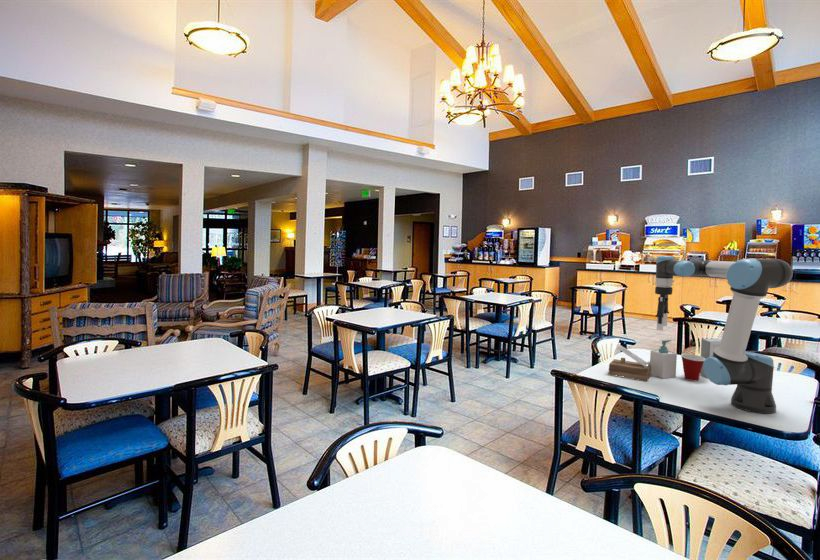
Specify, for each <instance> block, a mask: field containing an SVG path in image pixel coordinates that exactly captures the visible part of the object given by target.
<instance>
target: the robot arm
mask: <svg viewBox="0 0 820 560" xmlns="http://www.w3.org/2000/svg"><path fill="white" fill-rule="evenodd" d="M655 263H656V264H655V265H656V266H655V288H654V294H655V295H659V297H658V298H657V300H658V302H657V309H656V315H655V318H656V330H657V331H662V332H663V331H664V327H668V314H670V311H669V296H670V295H673V287H672V286H673V285H674V284H673V283H675V280H673V278H674V277H681V278H684V277H685V278H688V277H709V278H710V277H712V278H723V279H724V278H725V279H726V280H727V284H728V286H730V288H729V290H730V291H731V293H733V295H732V298H731V302H730V307H729V310H728V313H727V317H726V319H725V324H724V325H725V326H724V328H723V332H722V335H721V338H720V339H721V343H720V347H718V348H716V349H714V352H713V356H712V357H708V358H706V359H705V360H704V363H703V369H704V373H705V374H706V376H707V378H708V379H707V378H706V379H707V380H709V381H710V382H711V383H713V384H714V385H717V386H730V385H732V386H733V385H736V387H735V390H734V392H733V393H732V396H731V398H730V404H731V405H732V406H734V407H735V408H738V409H741V410H744V411H747V412H752V413H758V414H773V413H776V411H777V405H776V401H775V398H774V394H773V379H774V370H775V366H774V359H773V358H772V357H771V356H769V355H767V354H766V355H765V354H761V353H756V352H753V351H746V349H747V347H748V343H749V339H750V337H751V333H752V332H751V331H752V328H753V325H754V322H755V319H756V315H757V311H758V308H759V305H760V301H761V299H763V298H765V297H767V295H768V292H769V289H777V288H781V287H782V288H783V287H784V286H786V285H788V284H789V283H790V281H791V280H792V279H793V274H794V272H793V267H792V266H791V265H790V264H789V263H788V262H787V261H784V260H783V259H780V258H752V257H751V258H743V259H742V258H741V259H739V260H735V261H726V260H725V261H724V260H710V259H706V260H701V259H700V260H675V258H674V256H672V255H659V256H657V257H656V262H655Z"/></svg>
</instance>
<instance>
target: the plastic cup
mask: <svg viewBox="0 0 820 560" xmlns="http://www.w3.org/2000/svg"><path fill="white" fill-rule="evenodd" d="M680 356H681V360H682V368H683V373H684V374H683V375H684V379H686V380H687V379H688V381H692V380H697V381H699V378H700V376H701V375H700V372H701V368H702V365H703V363H704V360H705V358H703V357H701V355H697V354H691V353H681V354H680Z"/></svg>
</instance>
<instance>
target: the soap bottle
mask: <svg viewBox="0 0 820 560" xmlns="http://www.w3.org/2000/svg"><path fill="white" fill-rule="evenodd" d="M660 341H662V342H661V346H660V348H659V349H652V350H650V353H649V354H650V355H649V356H650V357H649V360H650V361H649V362H650V363H651V376H655V377H657V378H660V379H671V378H676V375H677V360H678V359H677V358H678V353H677V352H674V351H670V350H669V349H668V346H666V344H668V343H669V342H671V341H672V340H671V339H660Z"/></svg>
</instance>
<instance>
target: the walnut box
mask: <svg viewBox="0 0 820 560" xmlns="http://www.w3.org/2000/svg"><path fill="white" fill-rule="evenodd" d="M646 362H647V363H649V366H643V365H642V364H640V363H639V362H637V361H629V360H626V357H621V358H620V359H618V358H617V359H615V358H614V359H612V361H610V362H609V364H608V375H609V374H610V375H609V376H612V375H617V376H616V377H618V376H624V377H629V378H628V379H630V378H634V379H633V380H636V379H639V380H638V381H642V380H643V381H644V382H648V380H649V379H650V377H651V376H652V375H651V363H650V361H646ZM624 377H623V378H624Z"/></svg>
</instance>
